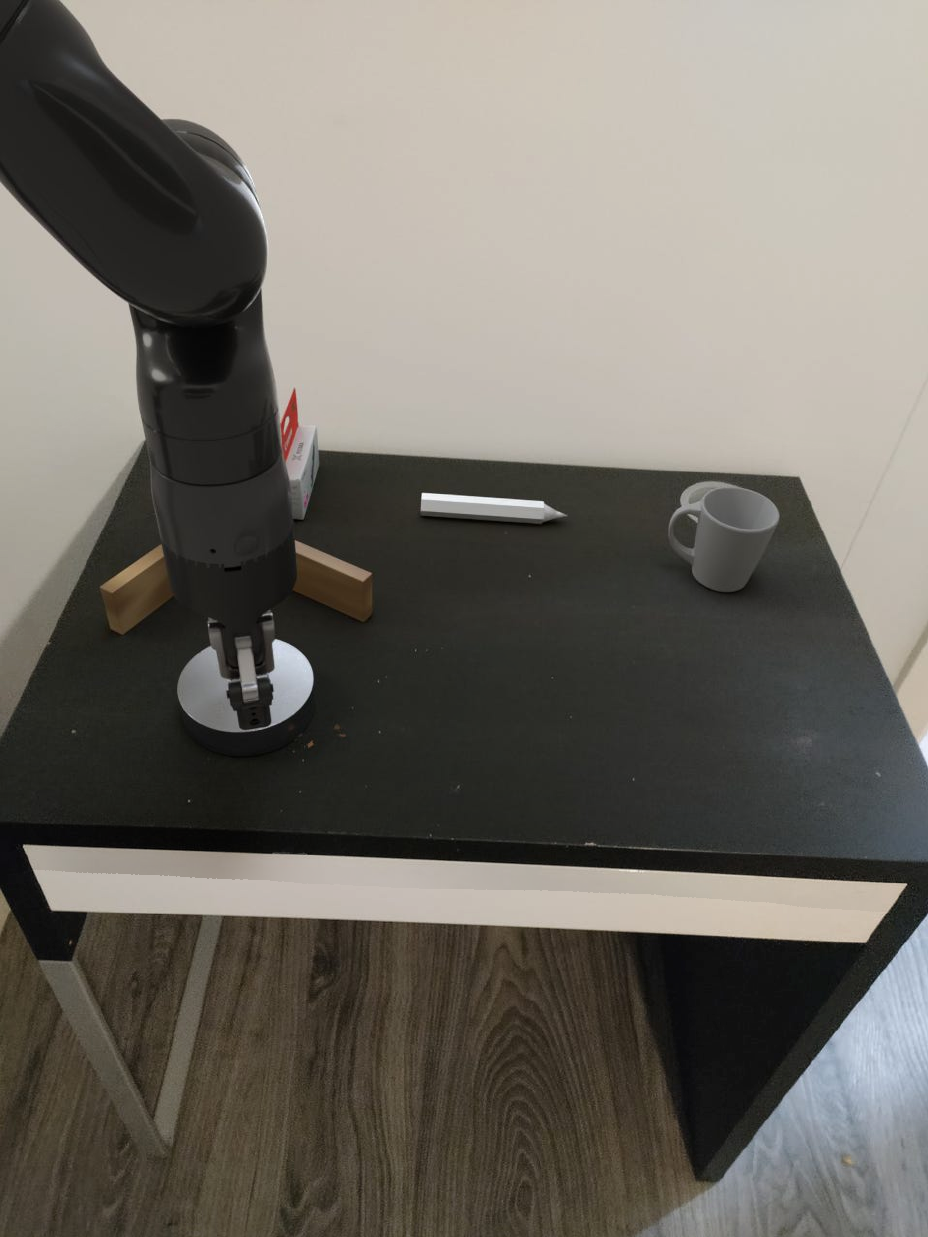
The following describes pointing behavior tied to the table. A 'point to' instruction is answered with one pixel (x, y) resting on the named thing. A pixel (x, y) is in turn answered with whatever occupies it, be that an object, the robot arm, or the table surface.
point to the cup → (727, 536)
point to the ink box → (299, 457)
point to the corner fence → (316, 579)
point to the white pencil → (487, 508)
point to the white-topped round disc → (219, 723)
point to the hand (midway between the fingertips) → (254, 721)
